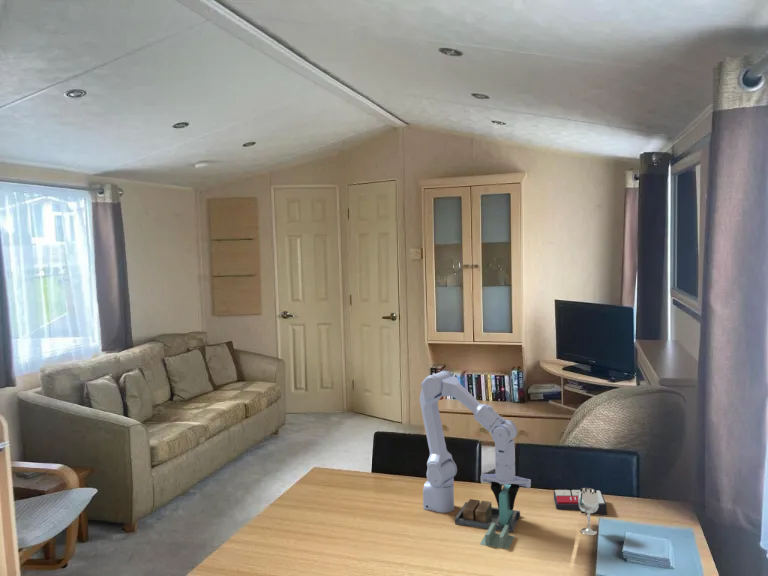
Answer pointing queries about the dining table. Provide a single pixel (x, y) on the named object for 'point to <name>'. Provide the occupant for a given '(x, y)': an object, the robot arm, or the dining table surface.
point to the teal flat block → (504, 505)
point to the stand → (497, 537)
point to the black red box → (576, 501)
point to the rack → (493, 519)
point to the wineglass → (588, 506)
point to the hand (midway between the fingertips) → (505, 508)
